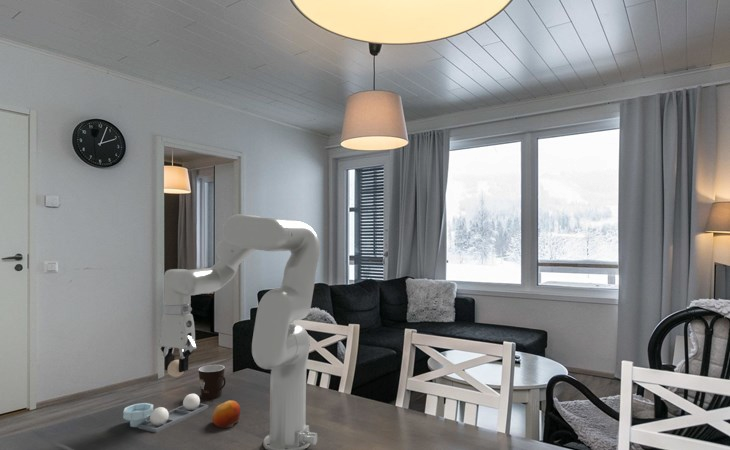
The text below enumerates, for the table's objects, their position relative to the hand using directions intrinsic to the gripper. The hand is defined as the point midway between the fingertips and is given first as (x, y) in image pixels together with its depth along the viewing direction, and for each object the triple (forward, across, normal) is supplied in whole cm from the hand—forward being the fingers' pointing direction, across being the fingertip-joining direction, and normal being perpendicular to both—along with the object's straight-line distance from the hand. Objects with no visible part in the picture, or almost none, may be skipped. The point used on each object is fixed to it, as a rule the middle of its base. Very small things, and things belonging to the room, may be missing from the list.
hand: (176, 369), depth 138 cm
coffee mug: (+15, +2, -18) cm, 24 cm away
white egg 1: (+14, 0, +6) cm, 16 cm away
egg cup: (+15, +6, +8) cm, 18 cm away
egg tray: (+15, 0, 0) cm, 15 cm away
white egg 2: (+14, 0, -7) cm, 16 cm away
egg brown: (+2, 0, 0) cm, 2 cm away
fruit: (+15, -17, -3) cm, 23 cm away
